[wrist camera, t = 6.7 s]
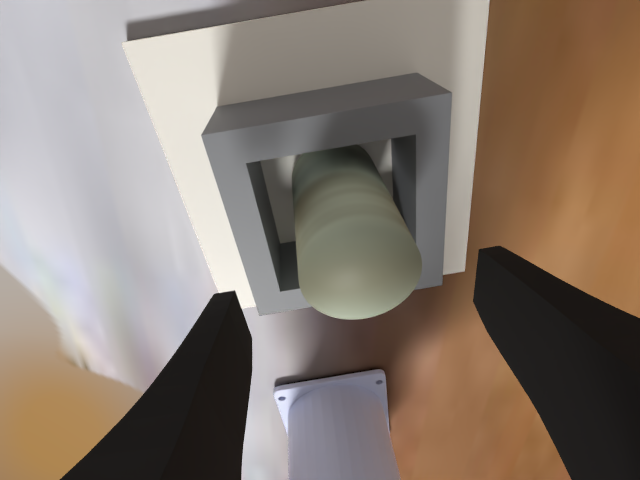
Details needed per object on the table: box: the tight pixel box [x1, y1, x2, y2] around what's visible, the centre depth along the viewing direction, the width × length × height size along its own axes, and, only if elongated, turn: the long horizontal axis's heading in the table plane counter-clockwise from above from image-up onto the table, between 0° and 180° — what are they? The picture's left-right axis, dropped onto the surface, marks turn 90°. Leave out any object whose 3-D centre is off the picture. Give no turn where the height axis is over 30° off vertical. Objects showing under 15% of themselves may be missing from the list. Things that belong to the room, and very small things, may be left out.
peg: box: [292, 144, 422, 320], centre depth 15 cm, size 4×4×7 cm
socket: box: [122, 0, 490, 316], centre depth 17 cm, size 14×14×4 cm
